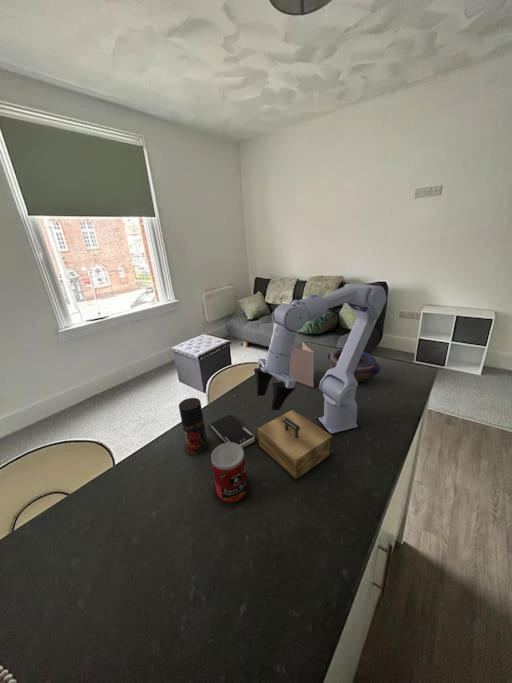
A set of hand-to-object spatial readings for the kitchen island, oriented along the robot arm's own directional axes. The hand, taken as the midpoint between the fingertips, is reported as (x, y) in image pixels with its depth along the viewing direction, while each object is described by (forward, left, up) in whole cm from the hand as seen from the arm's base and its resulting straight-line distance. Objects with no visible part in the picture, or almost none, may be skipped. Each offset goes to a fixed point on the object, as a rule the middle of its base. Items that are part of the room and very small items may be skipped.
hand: (267, 401), depth 72 cm
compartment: (-6, +1, -17) cm, 18 cm away
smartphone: (+9, -12, -17) cm, 23 cm away
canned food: (+13, +8, -17) cm, 23 cm away
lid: (-7, +1, -12) cm, 14 cm away
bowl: (-44, -28, -17) cm, 55 cm away
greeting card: (-24, -33, -17) cm, 44 cm away
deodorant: (+20, -10, -17) cm, 28 cm away
